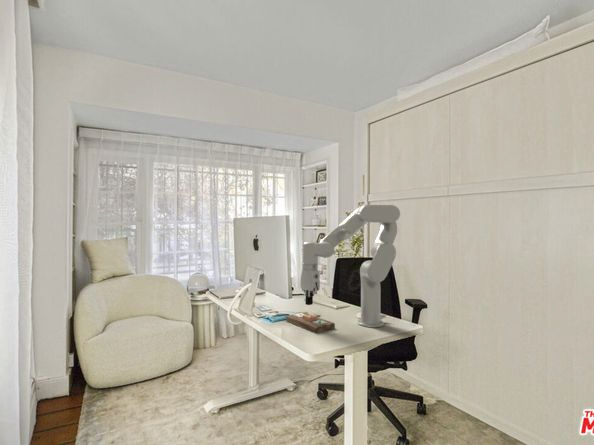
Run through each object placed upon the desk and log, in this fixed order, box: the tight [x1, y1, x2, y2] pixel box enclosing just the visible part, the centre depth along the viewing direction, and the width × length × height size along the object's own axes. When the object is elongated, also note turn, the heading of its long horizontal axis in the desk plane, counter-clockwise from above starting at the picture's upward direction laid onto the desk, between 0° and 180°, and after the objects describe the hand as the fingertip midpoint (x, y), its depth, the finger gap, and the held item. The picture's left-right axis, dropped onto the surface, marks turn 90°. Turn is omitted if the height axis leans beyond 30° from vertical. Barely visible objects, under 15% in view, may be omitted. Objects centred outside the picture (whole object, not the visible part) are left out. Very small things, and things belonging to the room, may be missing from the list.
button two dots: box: [303, 313, 318, 322], centre depth 162 cm, size 5×5×3 cm
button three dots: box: [312, 320, 327, 326], centre depth 156 cm, size 5×5×3 cm
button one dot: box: [293, 312, 305, 318], centre depth 168 cm, size 5×5×3 cm
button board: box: [285, 312, 336, 334], centre depth 162 cm, size 12×23×2 cm, turn 37°
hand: (309, 304), depth 162 cm, fingers closed
